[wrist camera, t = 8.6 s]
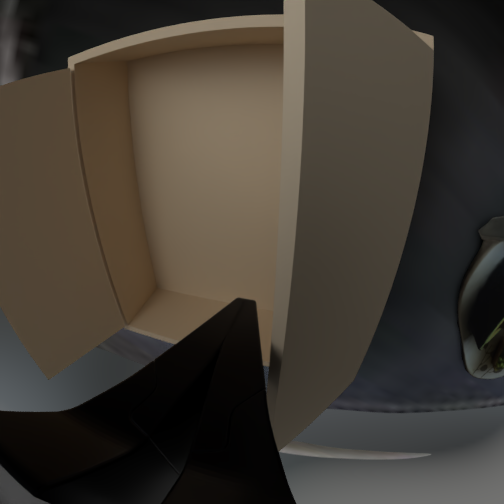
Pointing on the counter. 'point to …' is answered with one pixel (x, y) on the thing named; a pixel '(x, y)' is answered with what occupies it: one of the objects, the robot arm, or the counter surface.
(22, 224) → the far flap
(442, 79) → the counter surface
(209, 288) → the carton
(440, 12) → the counter surface
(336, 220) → the near flap
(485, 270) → the salad plate
